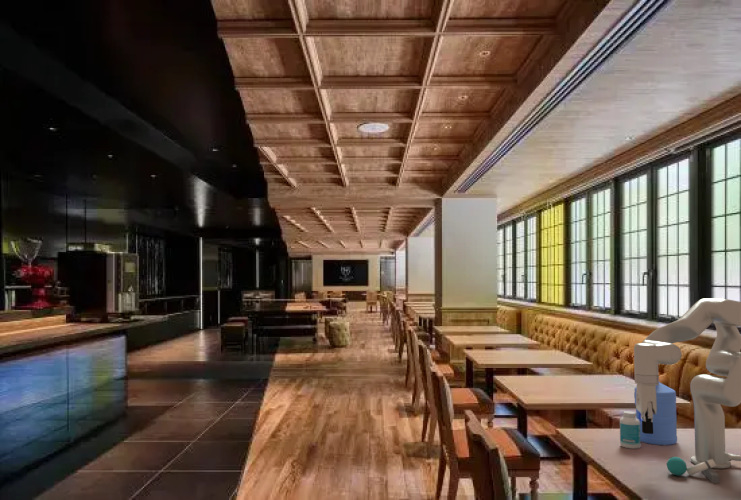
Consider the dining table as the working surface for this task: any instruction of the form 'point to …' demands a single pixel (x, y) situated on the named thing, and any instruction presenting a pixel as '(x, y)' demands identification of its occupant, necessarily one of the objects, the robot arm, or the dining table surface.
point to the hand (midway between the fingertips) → (647, 432)
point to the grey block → (711, 475)
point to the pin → (701, 467)
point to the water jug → (661, 418)
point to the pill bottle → (629, 430)
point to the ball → (676, 466)
